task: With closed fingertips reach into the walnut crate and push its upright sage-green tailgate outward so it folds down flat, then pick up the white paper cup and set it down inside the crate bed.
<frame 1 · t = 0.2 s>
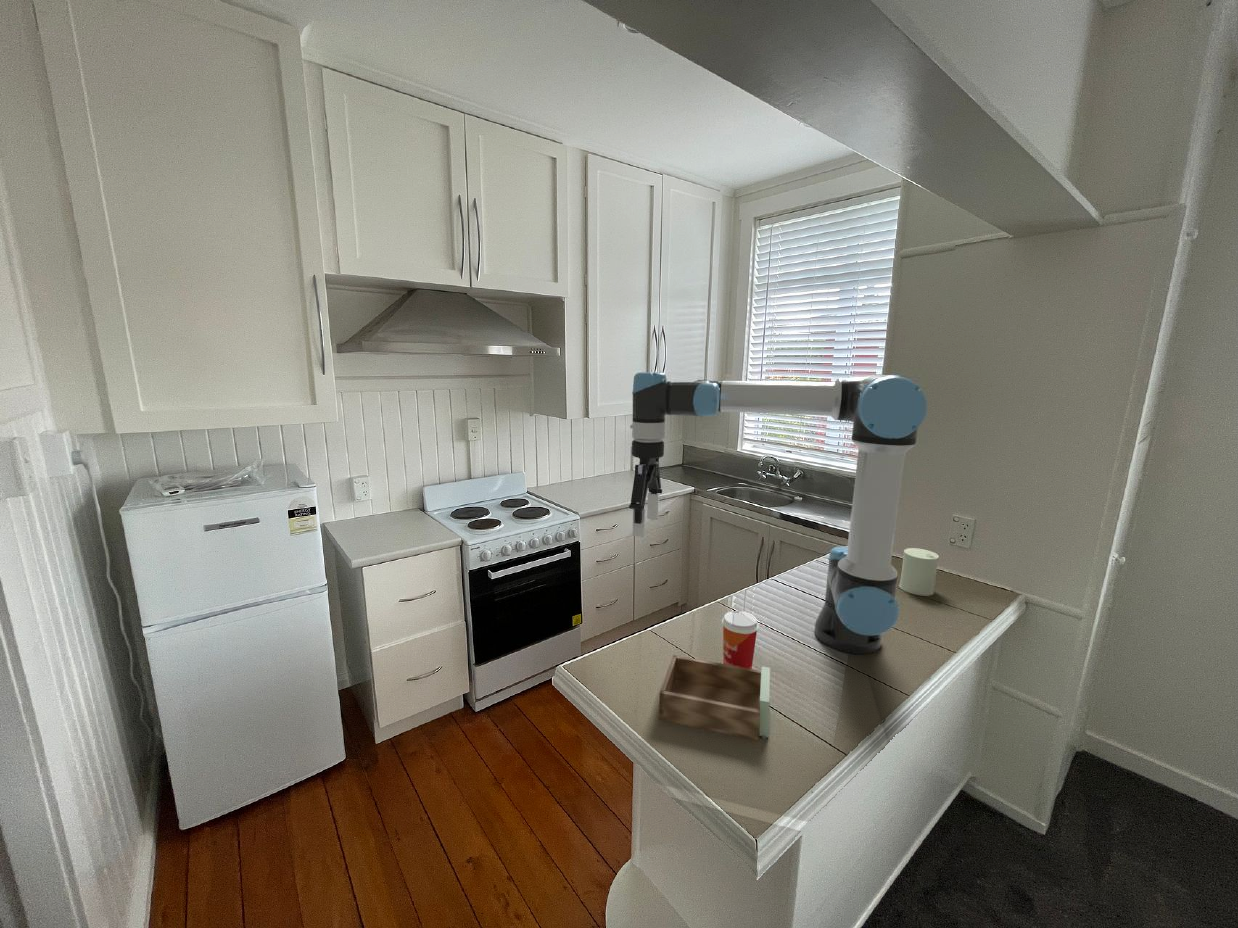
hand: (646, 527, 122), 28 cm above the counter, fingers open, 13 cm apart
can: (916, 589, 154), on the counter
crate: (711, 711, 99), on the counter
tailgate: (764, 701, 95), point 4 cm above the counter, hinge at -3.0°
paper cup: (736, 678, 109), on the counter
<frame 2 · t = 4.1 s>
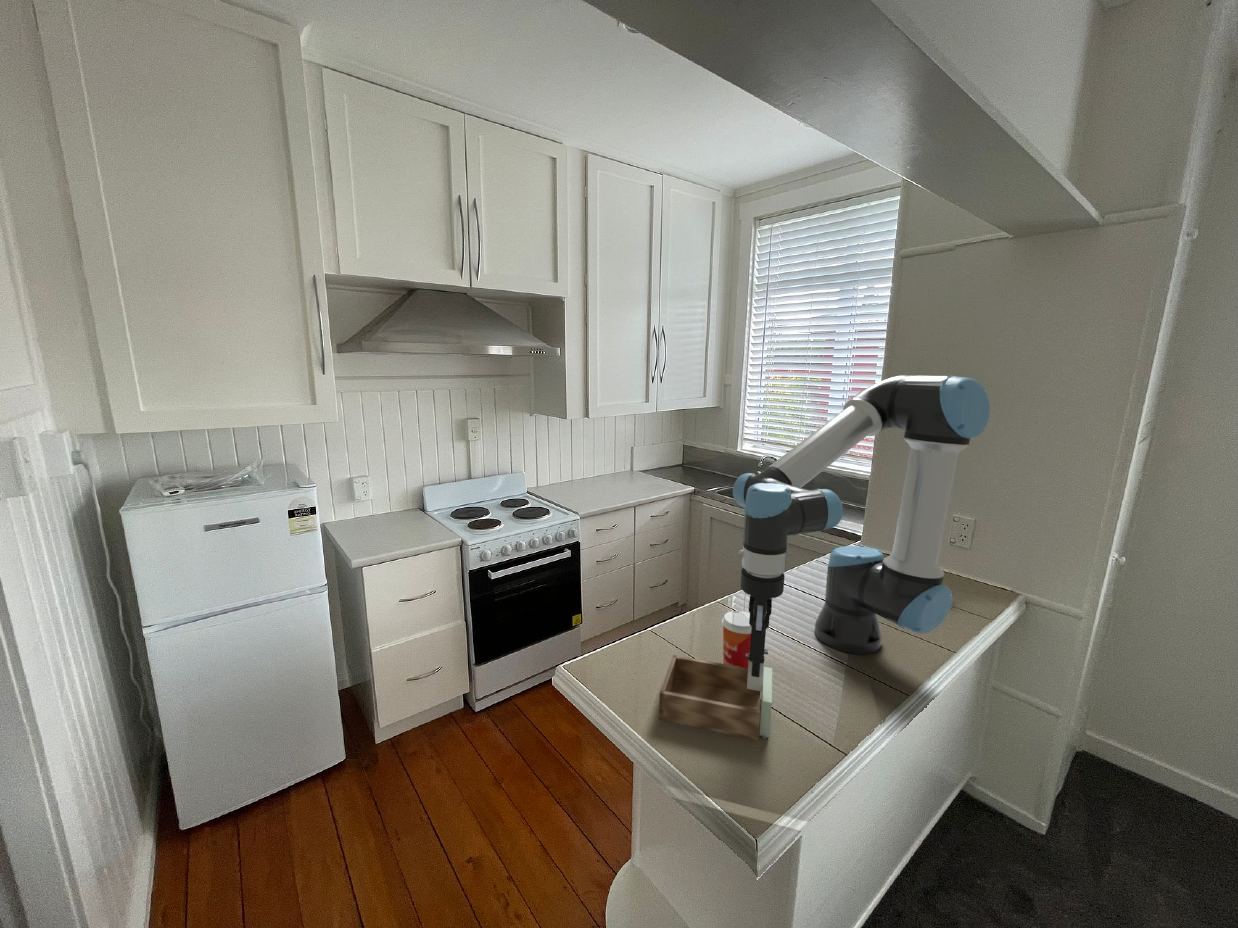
hand: (754, 687, 95), 7 cm above the counter, fingers closed
tailgate: (766, 701, 95), point 4 cm above the counter, hinge at 0.5°, touching gripper
everything else where it was.
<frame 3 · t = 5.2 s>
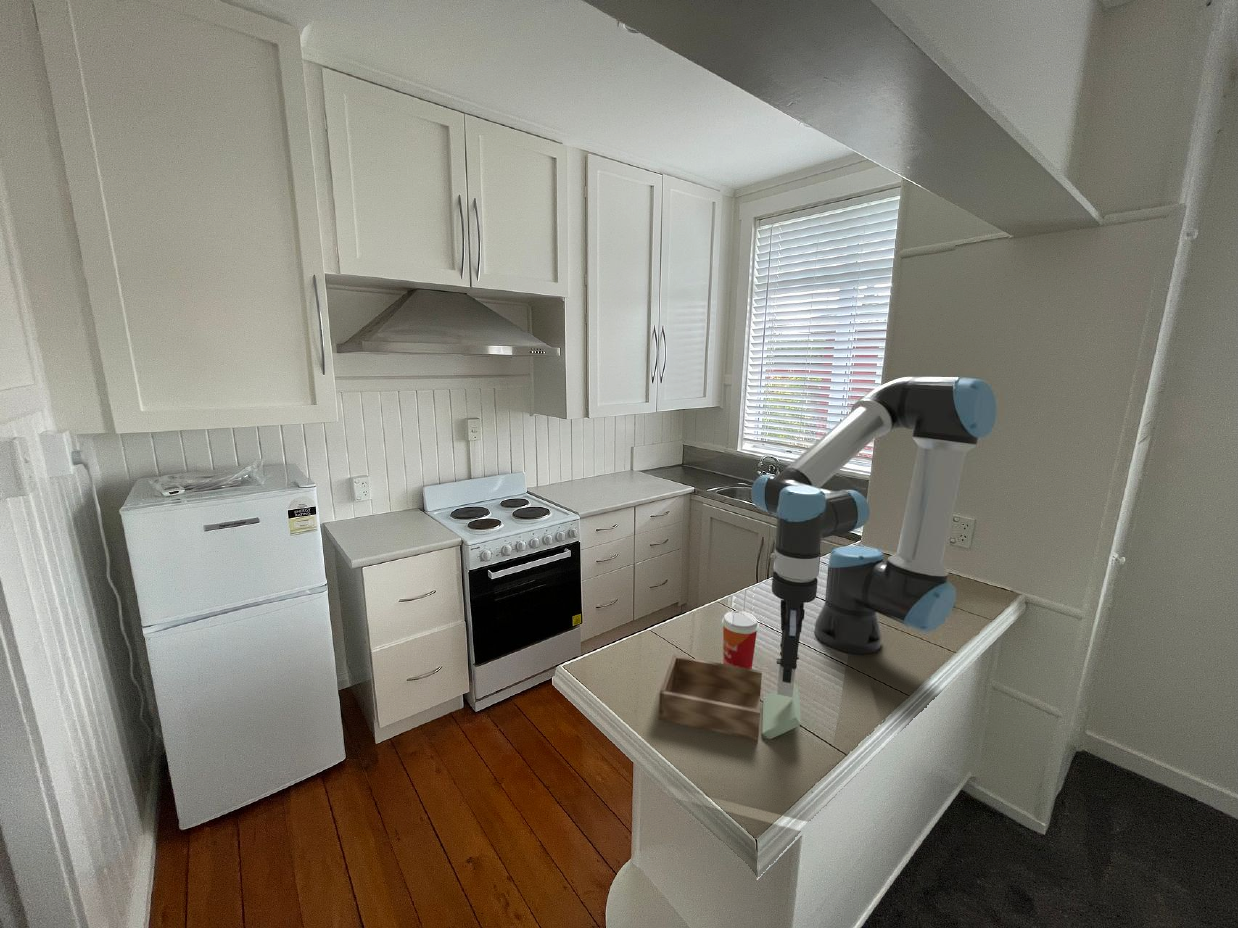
hand: (784, 693, 94), 7 cm above the counter, fingers closed
tailgate: (779, 710, 94), point 3 cm above the counter, hinge at 49.5°
everything else where it was.
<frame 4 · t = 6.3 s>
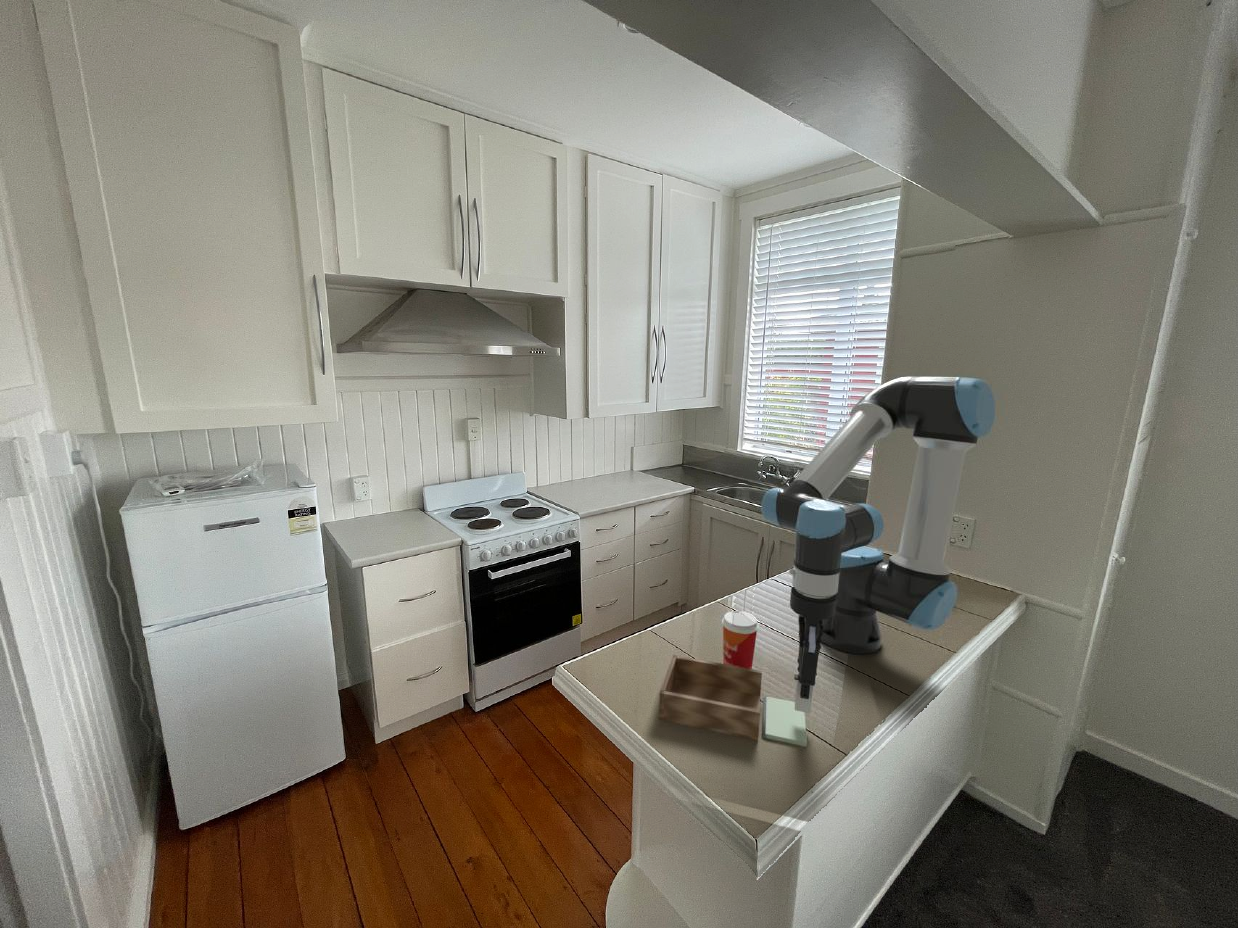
hand: (802, 709, 93), 4 cm above the counter, fingers closed
tailgate: (783, 721, 95), point 1 cm above the counter, hinge at 90.3°
everything else where it was.
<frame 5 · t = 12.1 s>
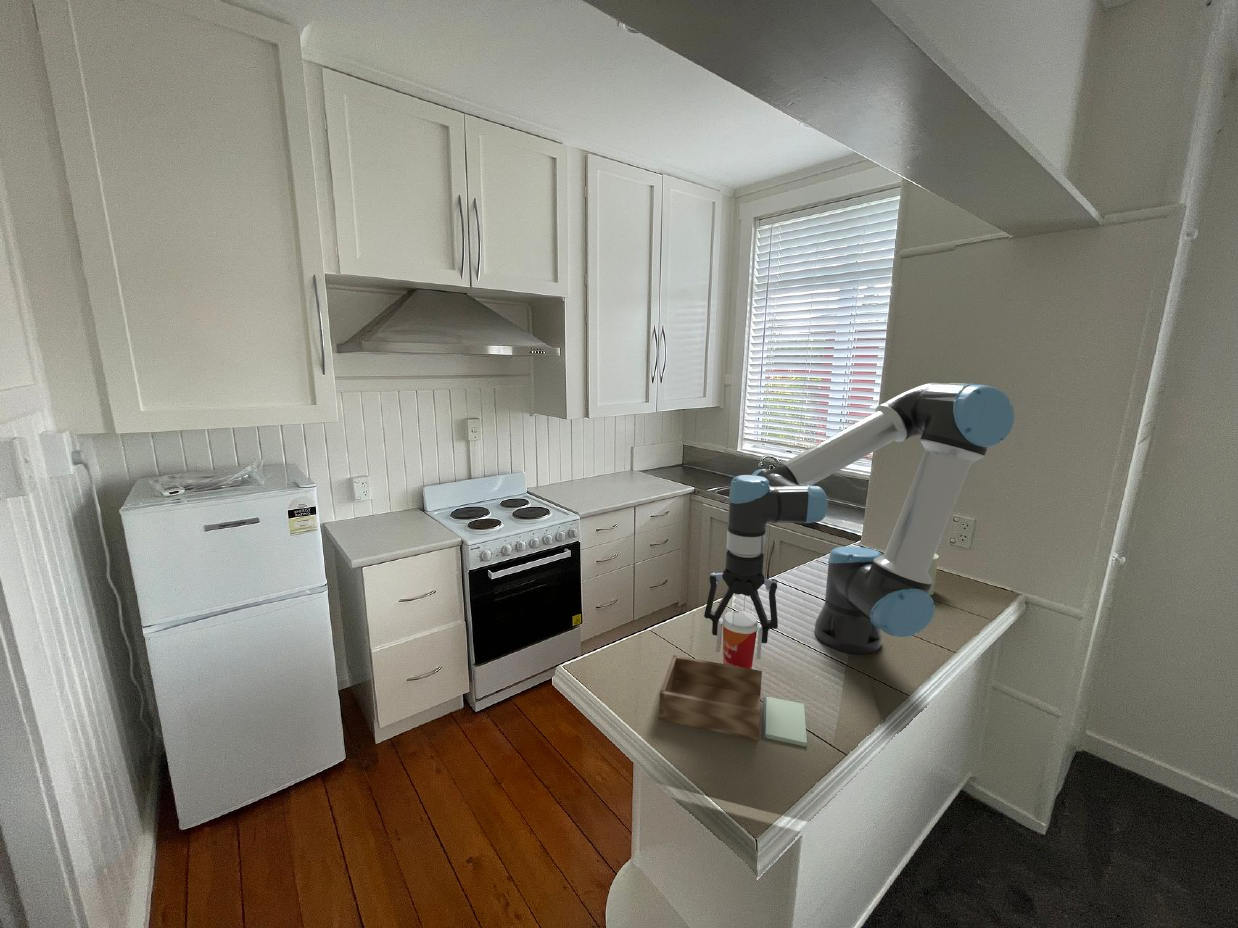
hand: (738, 651, 108), 6 cm above the counter, fingers closed on paper cup, 8 cm apart
paper cup: (736, 678, 109), on the counter, touching gripper
everything else where it was.
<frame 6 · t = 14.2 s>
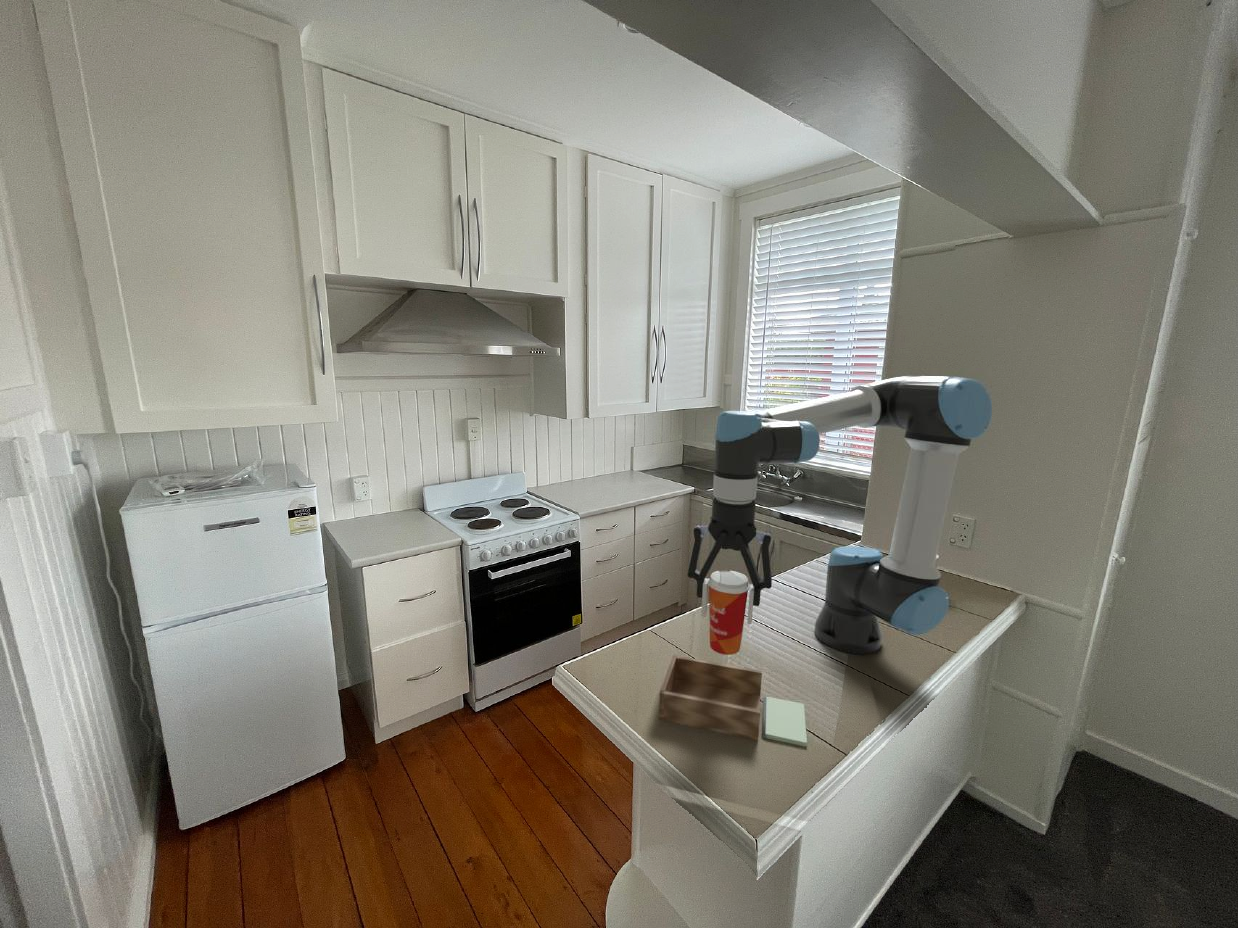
hand: (726, 616, 94), 20 cm above the counter, fingers closed on paper cup, 8 cm apart
paper cup: (724, 647, 96), point 14 cm above the counter, touching gripper
everything else where it was.
when the fingers open (9 cm above the counter, at t = 16.6 s): paper cup drops 1 cm, resting on crate.
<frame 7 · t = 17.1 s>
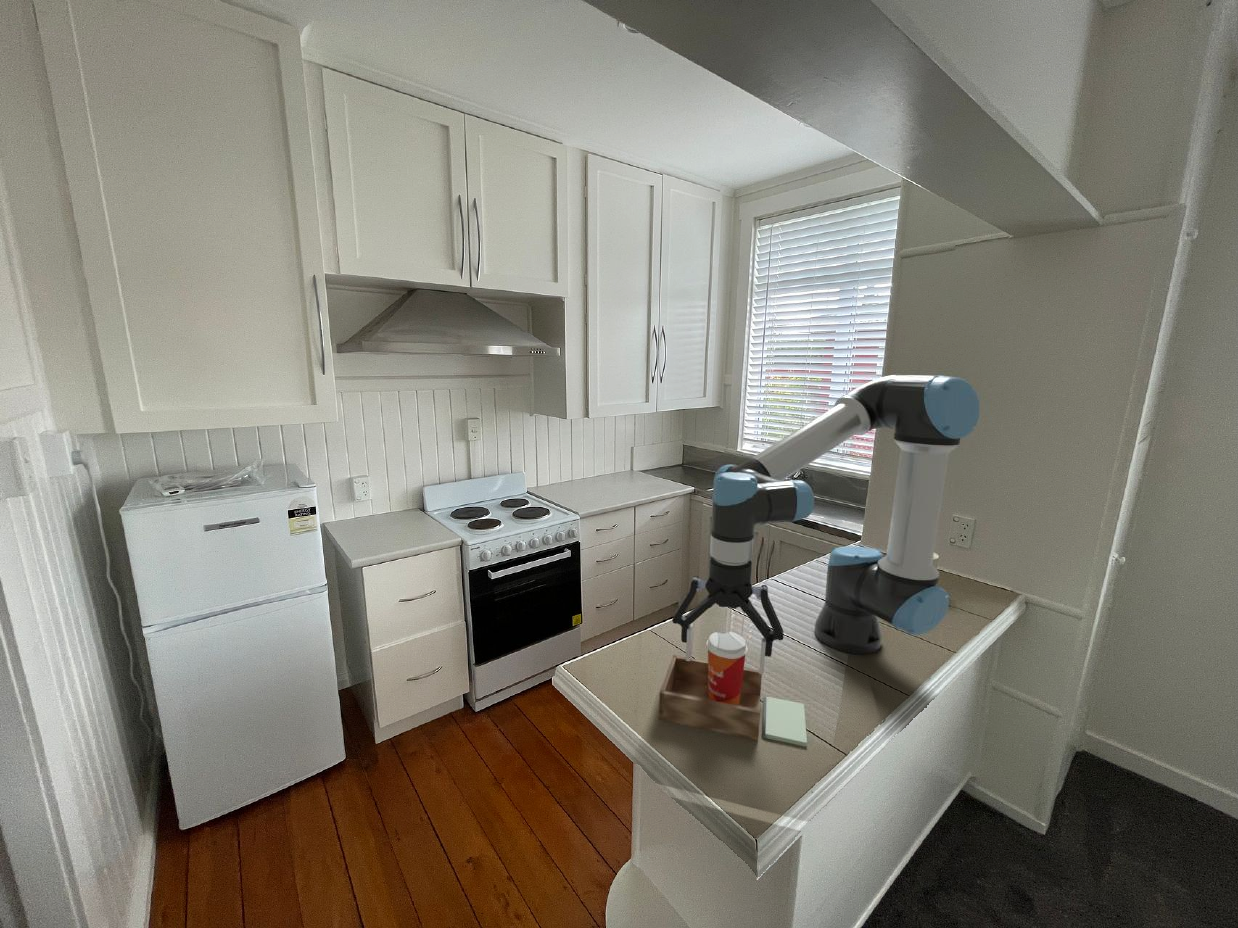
hand: (724, 663, 96), 11 cm above the counter, fingers open, 13 cm apart
paper cup: (723, 707, 98), point 1 cm above the counter, touching crate
everything else where it was.
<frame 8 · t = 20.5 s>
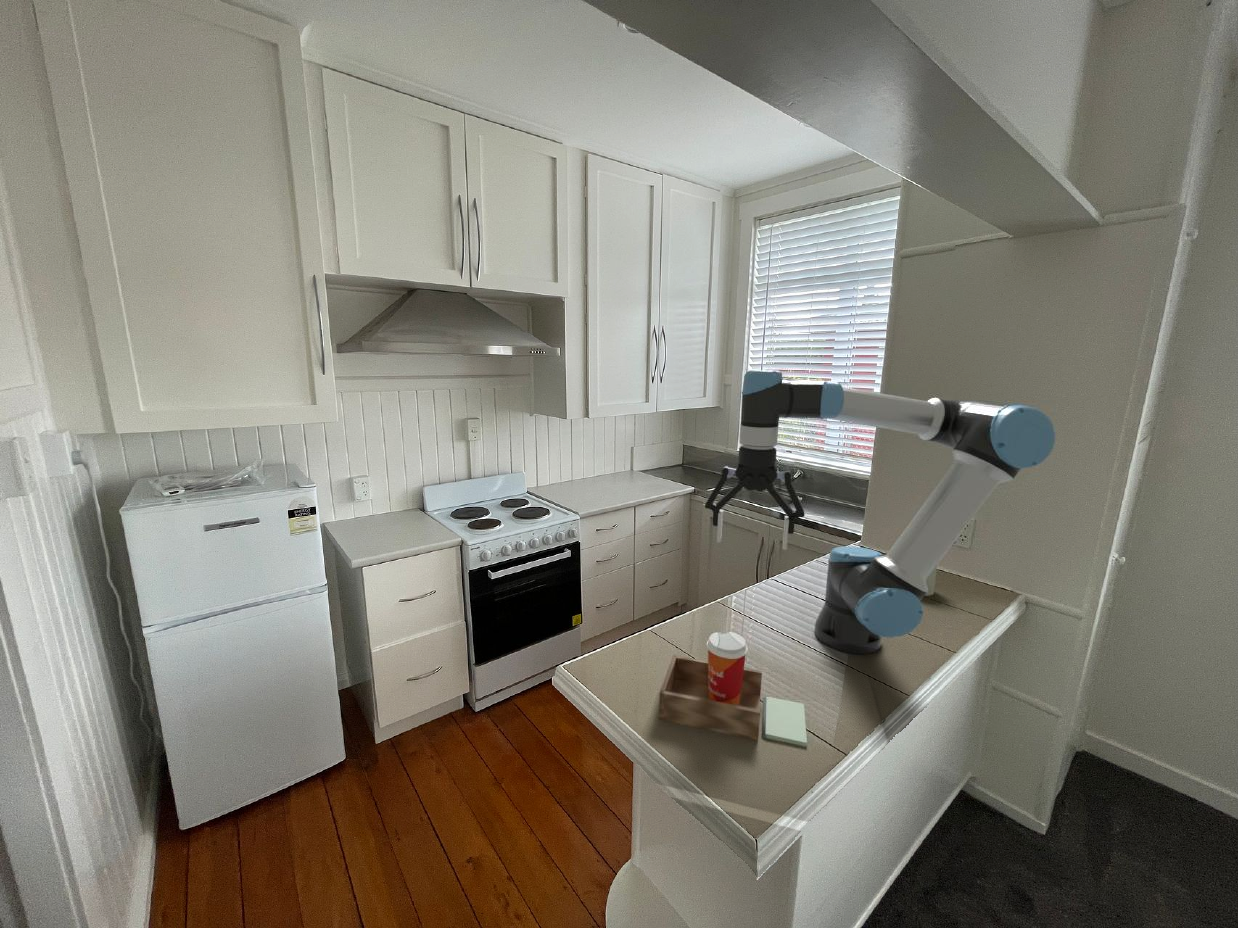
hand: (751, 543, 108), 29 cm above the counter, fingers open, 13 cm apart
nothing on the counter moved.
at the end: tailgate at +90° (first picture: -3°); paper cup inside the target area on the crate (2.3 cm from its centre), point 1.3 cm above the crate's base; paper cup tilted 0° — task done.
